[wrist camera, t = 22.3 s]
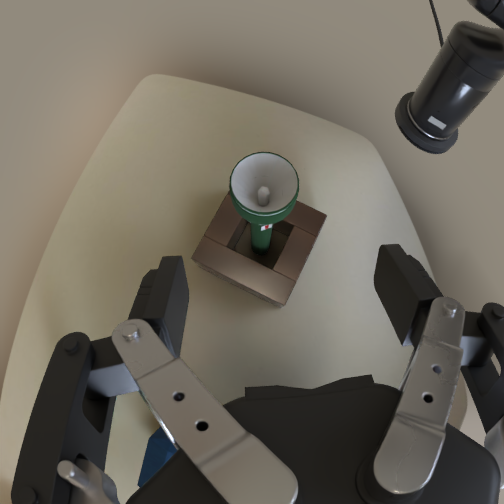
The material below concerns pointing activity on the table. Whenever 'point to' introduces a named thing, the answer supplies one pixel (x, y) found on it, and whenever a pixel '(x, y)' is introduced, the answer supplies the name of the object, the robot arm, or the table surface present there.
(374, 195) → the table surface
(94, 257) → the table surface
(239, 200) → the flashlight
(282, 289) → the holder
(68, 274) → the table surface
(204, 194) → the table surface
